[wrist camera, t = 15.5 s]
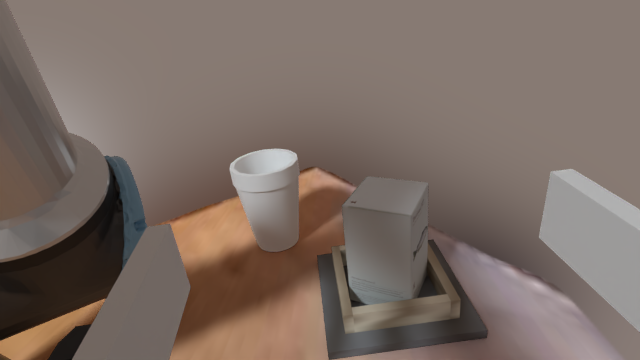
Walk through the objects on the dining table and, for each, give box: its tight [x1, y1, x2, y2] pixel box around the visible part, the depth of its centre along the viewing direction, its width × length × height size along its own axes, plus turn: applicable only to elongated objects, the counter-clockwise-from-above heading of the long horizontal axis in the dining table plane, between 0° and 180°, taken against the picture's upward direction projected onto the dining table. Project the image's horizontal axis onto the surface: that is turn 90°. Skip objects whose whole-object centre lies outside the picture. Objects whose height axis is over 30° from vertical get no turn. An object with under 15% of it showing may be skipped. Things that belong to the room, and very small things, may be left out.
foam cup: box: [230, 149, 300, 252], centre depth 56 cm, size 10×9×13 cm
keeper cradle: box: [317, 240, 487, 360], centre depth 45 cm, size 16×16×4 cm
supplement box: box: [342, 176, 428, 305], centre depth 43 cm, size 7×7×13 cm
